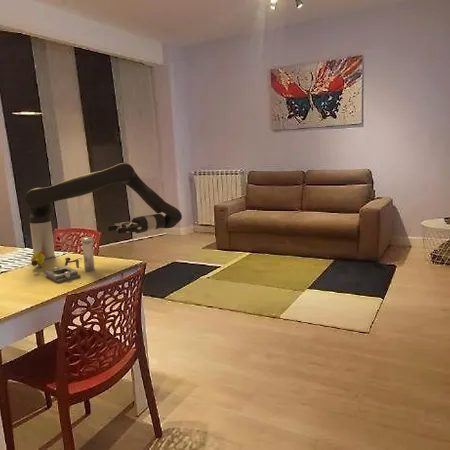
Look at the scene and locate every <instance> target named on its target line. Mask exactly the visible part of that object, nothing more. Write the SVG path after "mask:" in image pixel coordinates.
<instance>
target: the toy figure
mask: <svg viewBox="0 0 450 450" xmlns="http://www.w3.org/2000/svg"><path fill="white" fill-rule="evenodd" d="M44 255H45V252H43V251H41V252H40V253H39V252H38V253H35V254H34V253H33V254H32V255H31V256H30V258H31V260H30V261H31V263H30V264H31V265H32V266H34V267H36V266H37V267H36V269H41V267H42V265H41V264H43V263H44V262H45V256H44Z"/></svg>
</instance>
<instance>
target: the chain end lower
mask: <svg viewBox="0 0 450 450" xmlns="http://www.w3.org/2000/svg"><path fill="white" fill-rule="evenodd" d="M63 273H64V274H65V277H64V278H60V279H54V278H52V277H50V276H48V275H46V278H47V279H49V280H50V281H52V282H55V283H57V284H62V283H65V282H69V281H74V280H76V279H81V274H79V273H78V274H76V275H72V276H71V274H70V271H67V272H62V273H57V274H63Z"/></svg>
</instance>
